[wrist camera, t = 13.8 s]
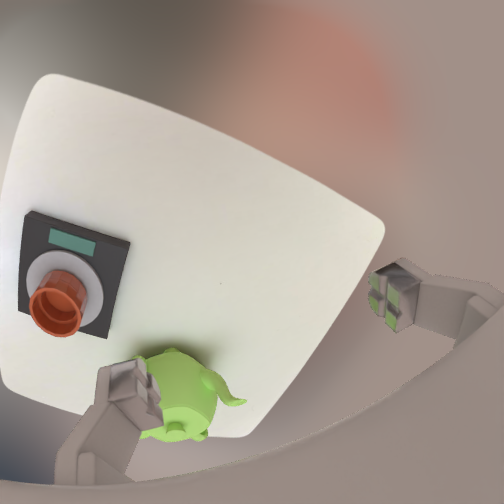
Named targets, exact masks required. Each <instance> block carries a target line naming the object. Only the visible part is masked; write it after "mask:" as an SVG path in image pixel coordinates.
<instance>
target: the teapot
mask: <svg viewBox="0 0 504 504" xmlns="http://www.w3.org/2000/svg"><path fill="white" fill-rule="evenodd" d="M136 358H141V359H142V360H143V362H144V363H145V365H146V372H149V373H151V374H152V375H153V376H154V378H155V379H156V381H157V383H158V386H159V389H160V392H161V401H160V403H159V404H158V405H159V406H160V408H161V409H162V411H163V420H164V426H162V427H158V428H154V429H150V430H146V431H141V432H142V434H141V436H140V438H139V439H144V438H147V437H149V436H150V435H151V436H152V437H154V438H156V439H158V440H161V441H164V442H175V441H181V440H185V439H188V438H192V439H193V440H195V441H202V440H204V439H205V438H207V436H208V430H207V428H208V427H209V426H210V424H211V422H212V419H213V416H214V413H215V410H216V406H217V394H218V396H219V398H220V400H221V401H222V402H223V403H224V404H226V405H228V406H239V405H242V404H244V403H246V402H247V400H245V399H238V398H235V397H233V396H232V395H231V394H230V392H229V390H228V387H227V385H226V382H225V381H224V379H223V378H222V377H221V376H220V375H219V374H218V373H216V372H214V371H212V370H208V369H206V368H205V367H204V366H202V365H201V364H200V363H199V362H197V361H196V360H195V359H193V358H192V357H190V356H188V355H186V354H184V353H180V351H179V350H178V349H176V348H168V349H166V350H165V351H164V353H163V354H159V355H156V356H153V357H150V358H148V359H146V360H145V358H144V357H142V356H140V355H136V356H134V357H133V358H132V359H136Z"/></svg>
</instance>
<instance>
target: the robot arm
mask: <svg viewBox="0 0 504 504" xmlns="http://www.w3.org/2000/svg"><path fill="white" fill-rule="evenodd" d="M368 282H369V284H370V285H371V286H372V287H371V289H370V291H369V293H368V295H369V296H368V297H369V303H370V306H371V308H372V310H373V311H374V312H375V313H376V315H377V316H380V317H384V318H385V323H386V324H387V325H388V326H389V327H390V328H391V329H392V330H393V331H394V332H395V333H398V332H400V331H402V330H403V329H405V328H407V327H409V326H411V325H412V324H414V325H416V326H419V327H422V328H424V329H427V330H430V331H433V332H436V333H439V334H442V335H444V336H447V337H450V338H453V339H456V341H455V344H454V347H453V350H452V351H450V352H449V353H448V354H446V355H445V356H444V357H442V358H441V359H440V360H438V361H437V362H436V363H434V364H433V365H432V366H430V367H429V368H427V369H426V370H425V371H423V372H422V373H420V374H419V375H417V376H416V377H414V378H413V379H411V380H410V381H408V382H407V383H405V384H404V385H402V386H401V387H399V388H397V389H396V390H394V391H392V392H391V393H389V394H387V395H386V396H384V397H382V398H381V399H379V400H377V401H375V402H374V403H372V404H370V405H368V406H367V407H365V408H363V409H361V410H359V411H357V412H356V413H353V414H352V415H350V416H348V417H346V418H344V419H342V420H340V421H338V422H336V423H334V424H331V425H329V426H327V427H325V428H323V429H321V430H319V431H316V432H314V433H312V434H309V435H307V436H305V437H302V438H300V439H298V440H295V441H293V442H290V443H288V444H285V445H282V446H280V447H277V448H274V449H272V450H269V451H266V452H263V453H260V454H257V455H254V456H251V457H248V458H245V459H242V460H238V461H235V462H231V463H228V464H224V465H221V466H217V467H213V468H209V469H205V470H201V471H196V472H192V473H187V474H182V475H177V476H172V477H166V478H160V479H154V480H147V481H140V482H135V481H133V480H132V479H130V478H129V477H127V476H126V475H124V473H125V471H126V469H127V466H128V464H129V462H130V459H131V457H132V455H133V452H134V450H135V448H136V445H137V443H138V441H139V438H140V436H141V434H142V432H141V431H146V430H150V429H154V428H158V427H162V426H164V420H163V411H162V409H161V408H160V406H159V405H158V404H159V403H160V401H161V392H160V389H159V386H158V383H157V381H156V379H155V378H154V376H153V375H152V374H151V373H149V372H146V365H145V363H144V362H143V360H142V359H141V358H136V359H132V360H128V361H124V362H120V363H116V364H113V365H109V366H105V367H101V368H100V369H99V370H98V375H97V382H96V390H95V399H94V405H90V407H89V408H88V409H87V411H86V412H85V413H84V415H83V416H82V418H81V419H80V420H79V422H78V423H77V425H76V426H75V428H74V429H73V430H72V432H71V433H70V434H69V436H68V437H67V439H66V440H65V442H64V443H63V445H62V446H61V447H60V449H59V450H58V452H57V453H56V461H55V474H54V485H44V484H31V483H21V482H13V481H6V480H0V504H504V293H502V292H501V291H499V290H498V289H496V288H495V287H493V286H492V285H490V284H489V283H485V282H479V281H473V280H467V279H460V278H454V277H448V276H442V275H436V274H435V275H433V276H432V275H430V274H429V273H427V272H426V271H424V270H423V269H421V268H420V267H418V266H417V265H415V264H414V263H412V262H411V261H409V260H408V259H406V258H400V259H398V260H396V261H394V262H392V263H391V264H388V265H386V266H384V267H382V268H380V269H377V270H375V271H373V272H371V273H370V275H369V281H368Z"/></svg>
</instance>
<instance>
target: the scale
mask: <svg viewBox="0 0 504 504" xmlns="http://www.w3.org/2000/svg"><path fill="white" fill-rule="evenodd" d="M129 245H130V242H127V241H123V240H120V239H117V238H114V237H111V236H107V235H104V234H101V233H98V232H95V231H92V230H89V229H85V228H82V227H79V226H76V225H73V224H70V223H67V222H64V221H61V220H58V219H55V218H52V217H49V216H46V215H43V214H40V213H37V212H34V211H30V212H29V213H28V214H26V215H25V217H24V224H23V232H22V240H21V250H20V263H19V282H18V311H20V312H23V313H26V314H28V315H31V313H30V309H29V303H30V297H31V296H32V294H33V292H34V291H35V289H36V288H37V286H38V284H39V283H40V281H41V280H42V278H43V277H44V276H45V275H46V274H47V273H50V272H52V271H65V272H67V273H69V274H72V275H73V276H75V277H76V278H77V279H78V280H79V281H80V282H81V283H82V285H83V287H84V288H85V290H86V293H87V300H88V301H87V305H86V308H85V311H84V314H83V318H82V321H81V324H80V327H79V329H78V330H77V331H80V332H83V333H86V334H90V335H93V336H97V337H101V338H104V339H107V337H108V332H109V327H110V322H111V318H112V313H113V308H114V304H115V300H116V295H117V291H118V287H119V283H120V279H121V275H122V271H123V268H124V264H125V260H126V257H127V253H128V250H129Z"/></svg>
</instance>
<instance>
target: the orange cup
mask: <svg viewBox="0 0 504 504" xmlns="http://www.w3.org/2000/svg"><path fill="white" fill-rule="evenodd" d="M87 301H88V300H87V293H86V290H85V288H84V287H83V285H82V283H81V282H80V281H79V280H78V279H77V278H76V277H75V276H73V275H72V274H69V273H67V272H65V271H52V272H50V273H47V274H46V275H45V276H44V277H43V278H42V280H41V281H40V283H39V284H38V286H37V288H36V289H35V291H34V292H33V294H32V296H31V297H30V303H29V309H30V313H31V316H32V318H33V320H34V321H35V323H36V324H37V326H39V327H40V328H41V329H42V330H43V331H44V332H46V333H48V334H50V335H53V336H55V337H68V336H71V335H73V334H74V333H75V332H76V331H77V330H78V329H79V327H80V324H81V321H82V318H83V314H84V311H85V308H86V305H87Z"/></svg>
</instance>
